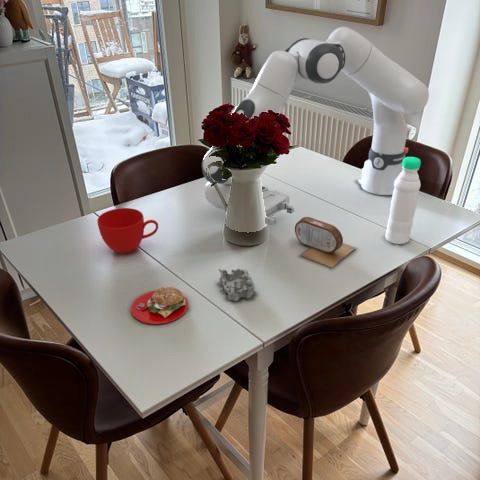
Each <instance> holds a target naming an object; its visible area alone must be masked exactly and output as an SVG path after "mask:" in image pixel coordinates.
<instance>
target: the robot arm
mask: <svg viewBox="0 0 480 480" xmlns="http://www.w3.org/2000/svg"><path fill="white" fill-rule="evenodd" d="M340 72H342V73H344V75H346V76H347V77H348V78H349V79H351V80H352V81H353V82H355V83H356V84H357V85H358V86H359V87H361V88H362V89H363V90H365V91H366V92H367V93H368V95H369V98H370V100H371V107H372V114H373V132H372V141H371V147H370V148H369V151H368V159H366V160H365V161H364V165H363V168H361V171H362V173H361V177H359V178H358V179H357V183H358V184H359V185H361V189H362V190H364V191H366V192H367V193H370V194H373V195H379V196H392V195H393V191H394V188H395V187H394V183H395V180H396V179H397V177H398V176H399V174H400V173H401V172H402V171H403V168H402V162H403V159H404V158H406V154H408V152H409V147H406V142H407V137H408V124H407V122H406V119H405V115H410V116H411V115H413V116H414V115H416V114H419V113H420V112H422V111H423V110H424V108H425V107H426V105H427V104H428V102H429V97H430V92H429V89H428V86H427V85H426V84H425V83H424V82H422V81H421V80H420V79H419V78H417V77H416V76H415V75H413V74H412V73H411V72H409V71H408V70H407V69H405V68H404V67H402V66H401V65H399V64H398V63H396V62H395V61H394V60H393V59H391V58H389V57H388V56H387V55H386V54H385V53H383V52H382V51H381V50H380V49H379V48H378V47H376V46H375V44H373V43H372V42H371V41H369V40H368V39H367V38H366V37H364V36H363V35H362V34H360V33H359V32H358V31H355V30H354V29H352V28H350V27H347V26H339V27H337V28H336V29H334V30H333V31H332V32H331V33H330V35H329V36H328V38H327V39H326V40H319V39H311V38H308V37H304V38H298V39H297V40H295V41H293V42H292V43H291V44H290V45H289V46H288V48H286V49H285V50H275V51H273V52H271V54H270V55H269V56H268V58H267V59H266V61H265V62H264V64H263V65H262V67H261V69H260V71H259V73H258V74H257V76H256V79H255V81H254V83H253V85H252V87H251V88H250V90H249V91H248V93H247V94H246V96H245V97H244V99H243V100H241V101H240V102H239V103H238V104H237V106H235V108H234V109H233V111H232V113H234V112H236V113H239V114H241V113H243V114H245V115H246V116H247V117H248V118H250V119H252V118H253V117H254V116H259V114H260V113H261V112H266V111H268V110H272V111H273V112H275V113H279V115H280V114H281V113H282V111H283V109H284V108H285V107H286V105H287V102H288V100H289V98H290V96H291V93H292V90H293V88H294V87H295V85H297V83H299V81H300V80H302V79H304V80H305V81H309V82H312V83H314V84H317V85H318V84H319V85H322V84H323V85H324V84H329V83H330V82H332V81H334V80H335V79H336V78H337V77H338V76H339V74H340ZM214 149H215V148H212V147H210V149H208V151H207V152H206V153H205V155H204V156H203V159H202V162H201V172H202V174H203V177H204V179H205V180H206V182H207V183H206V184H205V187H204V197H205V199H206V200H207V202H208V203H209V204H211V205H212V206H214V207H215V208H218V209H220V210H223V211H225V208H224V206H223V203H222V201H221V199H220V197H219V195H218V193H217V191H216V190H215V187H214V186H212V187H211V184H212V182H211V180H210V179H209V177H208V176H207V174H208V172H209V174H210V175H211V177H212V178H213V179H214V180H215V181H219V182H218V187H219V188H220V190H221V192H222V194H223V196H224V198H225V201H226V203H228V200H229V195H230V186H231V178H229V179H226V180H222V173H221V171H220V168H219V167H217V166H211V167H210V169H209V168H208V167H207V166H208V165H209V164H210V163H212V162H216V161H221V159H220V158H219V157H216V156H210V157H209V154H210V152H211V151H213V150H214ZM206 168H207V173H206ZM261 186H262V192H263V199H264V206H265V212H266V216H267V217H265V224H264V225H271V226H273V225H275V224H277V218H276V217H274V215H276V214H278V213H280V212H282V211H285V210H286V213H288V214H293V213H294V212H295V207H294V205H290V196H289V195H288V194H287V193H285V192H282V191H279V190H276V189H269V187H268V186H265V185H261Z"/></svg>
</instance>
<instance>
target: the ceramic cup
mask: <svg viewBox="0 0 480 480" xmlns="http://www.w3.org/2000/svg"><path fill="white" fill-rule="evenodd" d="M144 219H145V217H144V213H143V212H142V211H140V210H138V209H136V208H131V207H130V208H129V207H120V208H119V207H118V208H114V209H110V210H107V211H105V212H103V213H102V214H100V215H99V216H98V218H97V219H96V220H97V221H96V223H97V227H98V231H99V233H100V236H101V239H102V241H103V242H104V244H106V246H107V247H108V248H109V249H111V250H112V251H113V252H115V253H116V254H120V255H126V254H130V253H133V252H134V251H136V250H137V248H138V247H139V245H140V244H141V243H142V240H143V239H147V238H149V237H152V236H153V235H155V234H156V233H157V232H158V229H159V222H157V221H156V220H155V219H148V220H146V221H145V220H144ZM148 224H153V225H155V228H154V230H153V231H151V232H150V233H147V234H145V227H146V226H147V225H148Z"/></svg>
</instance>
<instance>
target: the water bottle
mask: <svg viewBox="0 0 480 480" xmlns="http://www.w3.org/2000/svg"><path fill="white" fill-rule="evenodd" d="M421 161H422V160H421V159H420V158H418V157H415V156H405V158H404V159H403V162H402V168H403V171H402V172H401V173H400V174H399V176H398V177H397V179H396V180H395V183H394V187H395V188H394V191H393V195H391V196H392V197H391V201H390V206H389V207H390V208H389V216H388V219H387V227H386V231H385V237H384V238H385V240H387V241H388V242H389V243H391V244H395V245H405V244H407V243H408V242H409V241H410V240H411V232H412V228H413V224H414V216H415V214H416V210H417V205H418V199H419V191H420V189H421V186H422V185H421V184H422V183H421V180H420V176H419V174H418V171H419V170H420V167H421V163H422V162H421Z"/></svg>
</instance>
